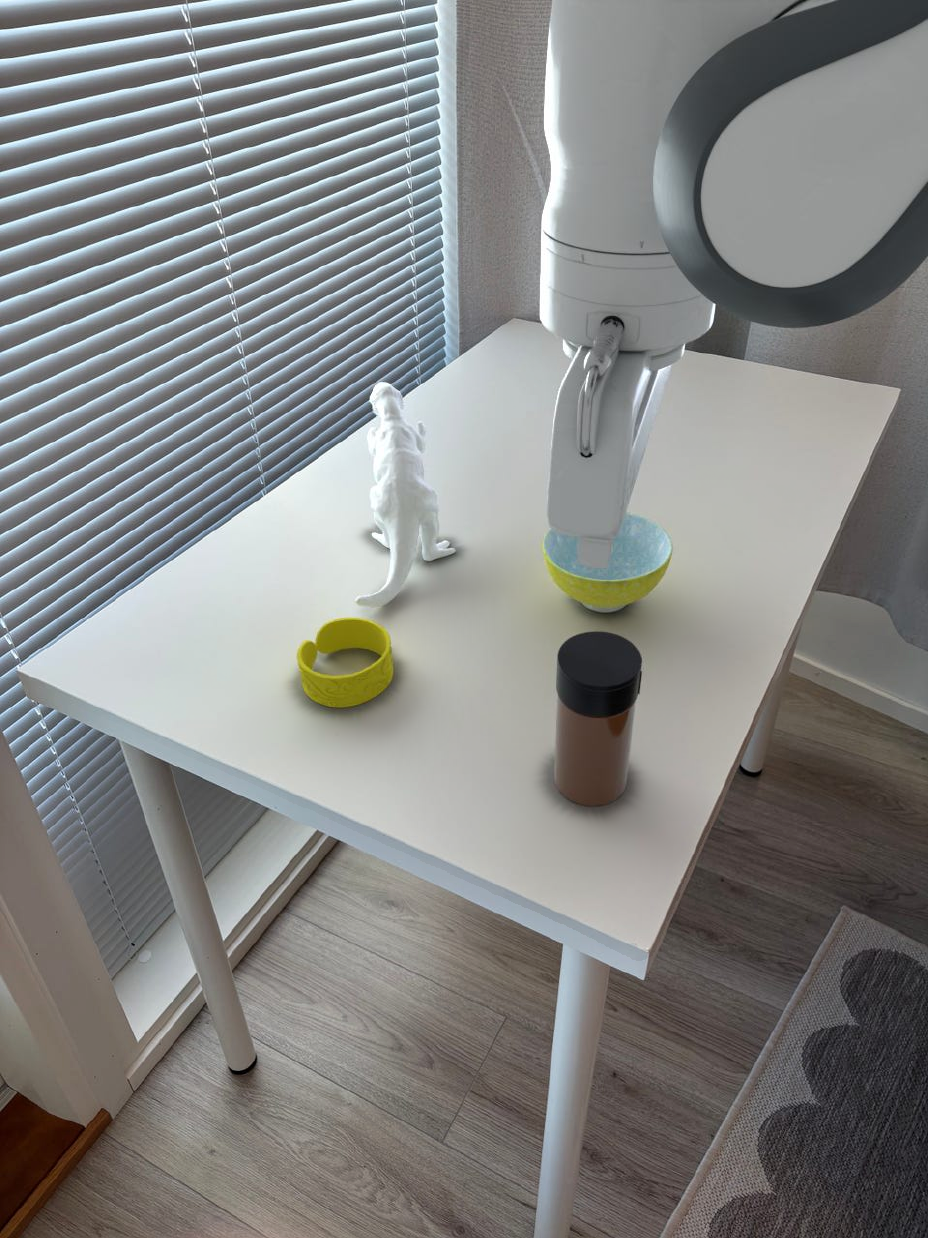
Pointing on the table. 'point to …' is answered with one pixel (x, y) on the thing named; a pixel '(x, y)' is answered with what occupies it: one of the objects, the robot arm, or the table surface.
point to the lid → (598, 673)
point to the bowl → (611, 565)
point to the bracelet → (353, 685)
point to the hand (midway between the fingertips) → (609, 517)
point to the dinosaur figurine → (400, 493)
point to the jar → (592, 755)
